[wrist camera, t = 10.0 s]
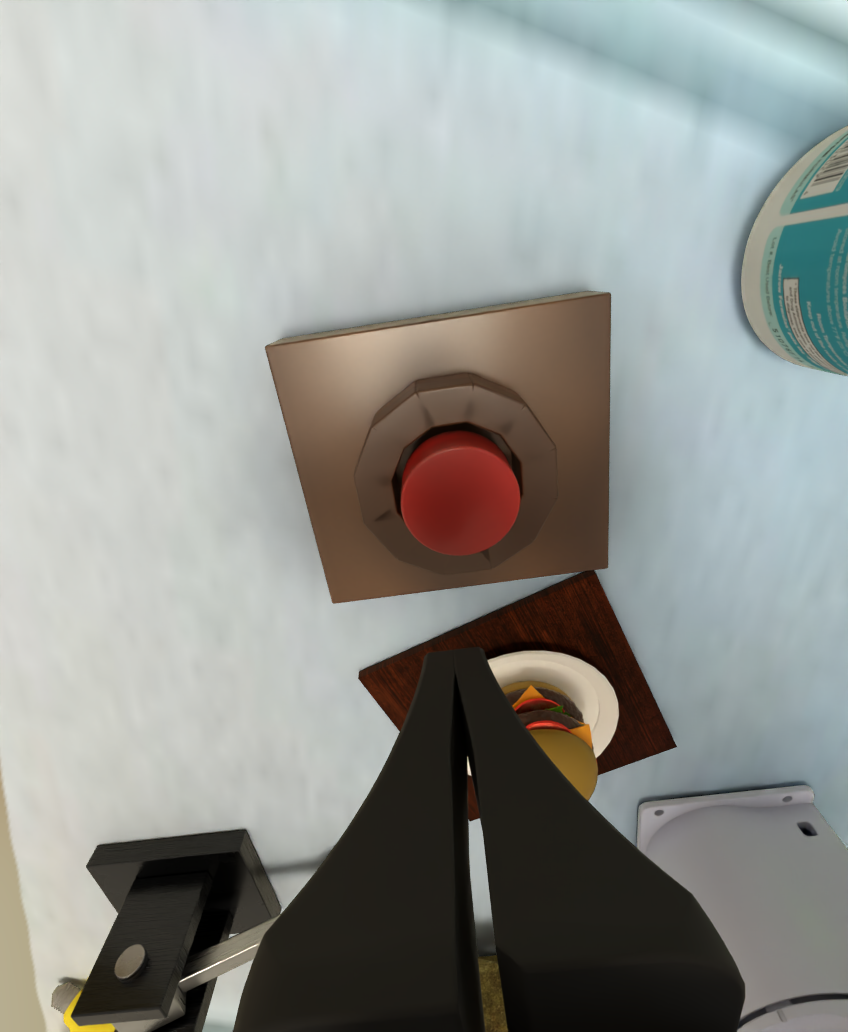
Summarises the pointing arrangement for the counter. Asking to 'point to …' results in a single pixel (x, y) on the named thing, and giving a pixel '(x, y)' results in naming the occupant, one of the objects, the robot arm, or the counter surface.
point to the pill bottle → (803, 262)
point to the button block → (449, 407)
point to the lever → (205, 972)
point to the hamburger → (551, 680)
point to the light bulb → (66, 1001)
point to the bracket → (169, 922)
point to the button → (459, 493)
